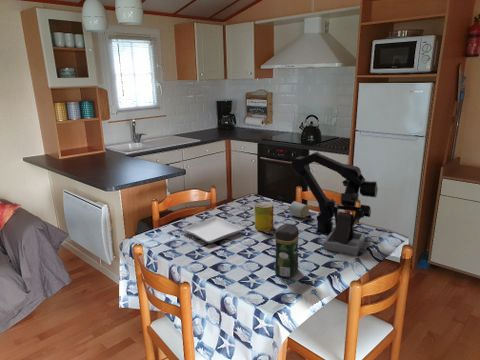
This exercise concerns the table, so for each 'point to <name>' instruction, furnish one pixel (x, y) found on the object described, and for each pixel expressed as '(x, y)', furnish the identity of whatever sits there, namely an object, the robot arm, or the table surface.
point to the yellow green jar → (264, 216)
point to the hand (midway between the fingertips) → (343, 226)
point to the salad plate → (213, 229)
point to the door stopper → (344, 228)
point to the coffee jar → (286, 250)
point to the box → (348, 248)
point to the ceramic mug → (299, 209)
